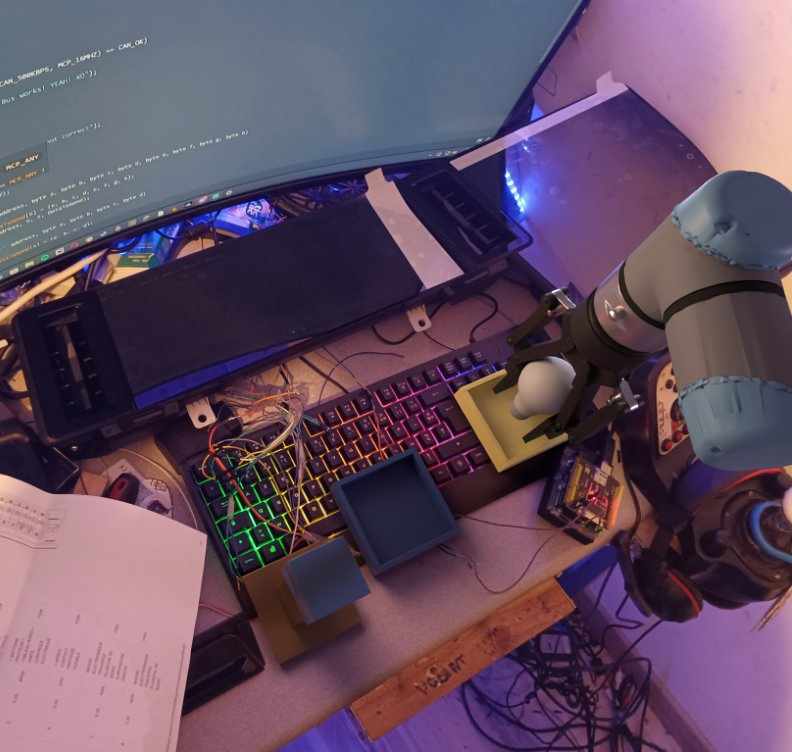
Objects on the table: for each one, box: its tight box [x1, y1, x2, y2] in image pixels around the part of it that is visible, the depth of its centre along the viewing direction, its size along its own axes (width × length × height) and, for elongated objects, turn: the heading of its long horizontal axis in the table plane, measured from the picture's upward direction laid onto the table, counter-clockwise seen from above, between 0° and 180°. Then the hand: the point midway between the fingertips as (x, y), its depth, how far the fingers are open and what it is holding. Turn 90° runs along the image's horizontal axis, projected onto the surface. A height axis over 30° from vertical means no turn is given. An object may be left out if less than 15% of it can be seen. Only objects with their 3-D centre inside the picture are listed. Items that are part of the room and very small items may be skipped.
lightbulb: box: [510, 355, 576, 420], centre depth 77 cm, size 6×6×11 cm
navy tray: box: [329, 446, 462, 578], centre depth 76 cm, size 10×10×3 cm
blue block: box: [282, 535, 372, 625], centre depth 59 cm, size 5×5×5 cm
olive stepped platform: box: [241, 539, 361, 665], centre depth 67 cm, size 9×9×12 cm
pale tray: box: [453, 368, 569, 474], centre depth 83 cm, size 10×10×3 cm
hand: (518, 411), depth 82 cm, fingers closed on lightbulb, 6 cm apart
